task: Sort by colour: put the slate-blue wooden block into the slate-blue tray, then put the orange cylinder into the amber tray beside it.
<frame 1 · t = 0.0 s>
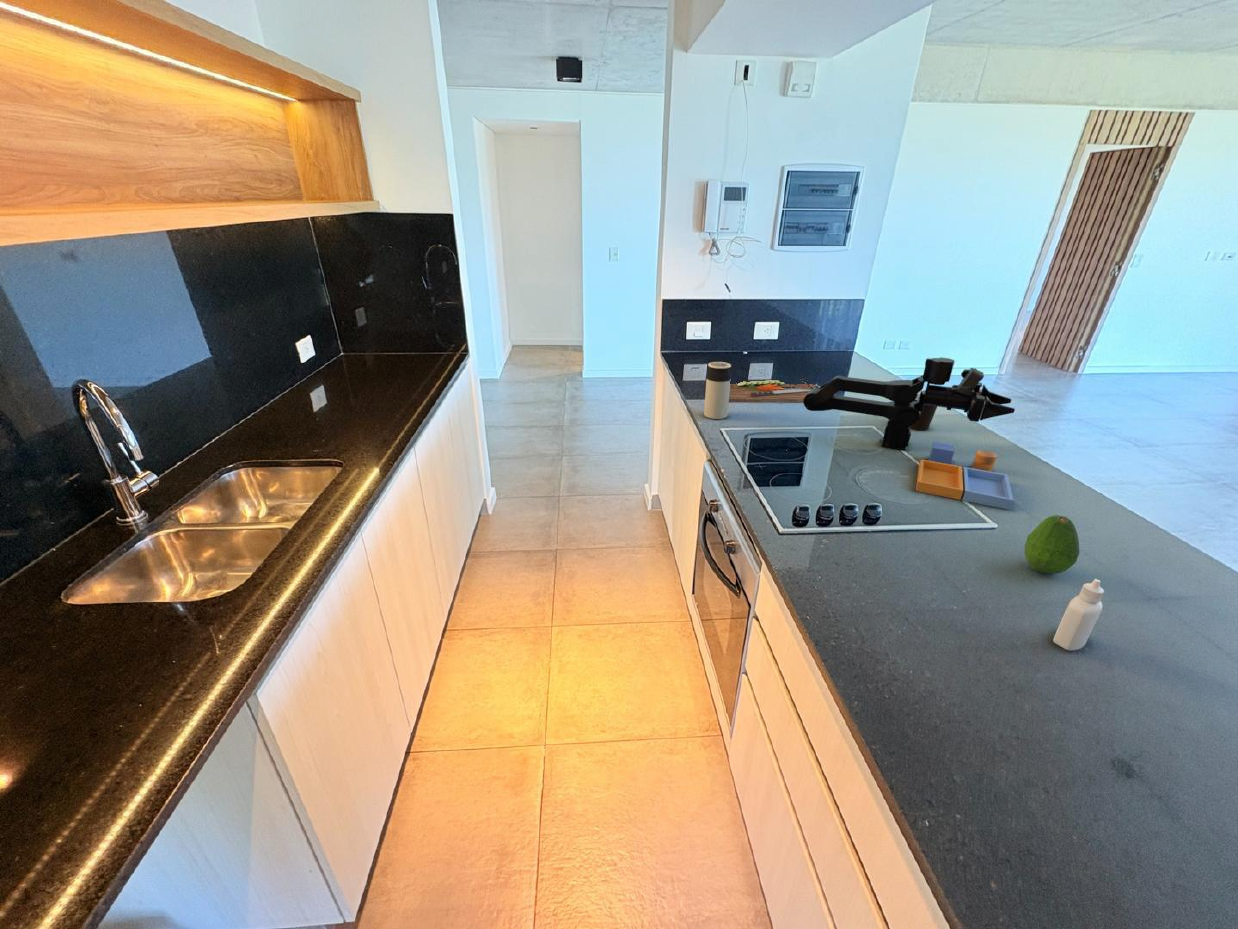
hand: (1012, 405, 140), 17 cm above the worktop, tool horizontal, fingers open, 9 cm apart
eye dropper bottle: (1068, 642, 84), on the worktop
coffee mug: (915, 426, 173), on the worktop
blue block: (938, 463, 146), on the worktop
avocado: (1042, 571, 101), on the worktop
amber tray: (938, 482, 135), on the worktop
orange cylinder: (981, 470, 142), on the worktop
travel mug: (715, 416, 182), on the worktop
chopping board: (765, 392, 208), on the worktop
blue tray: (984, 491, 131), on the worktop
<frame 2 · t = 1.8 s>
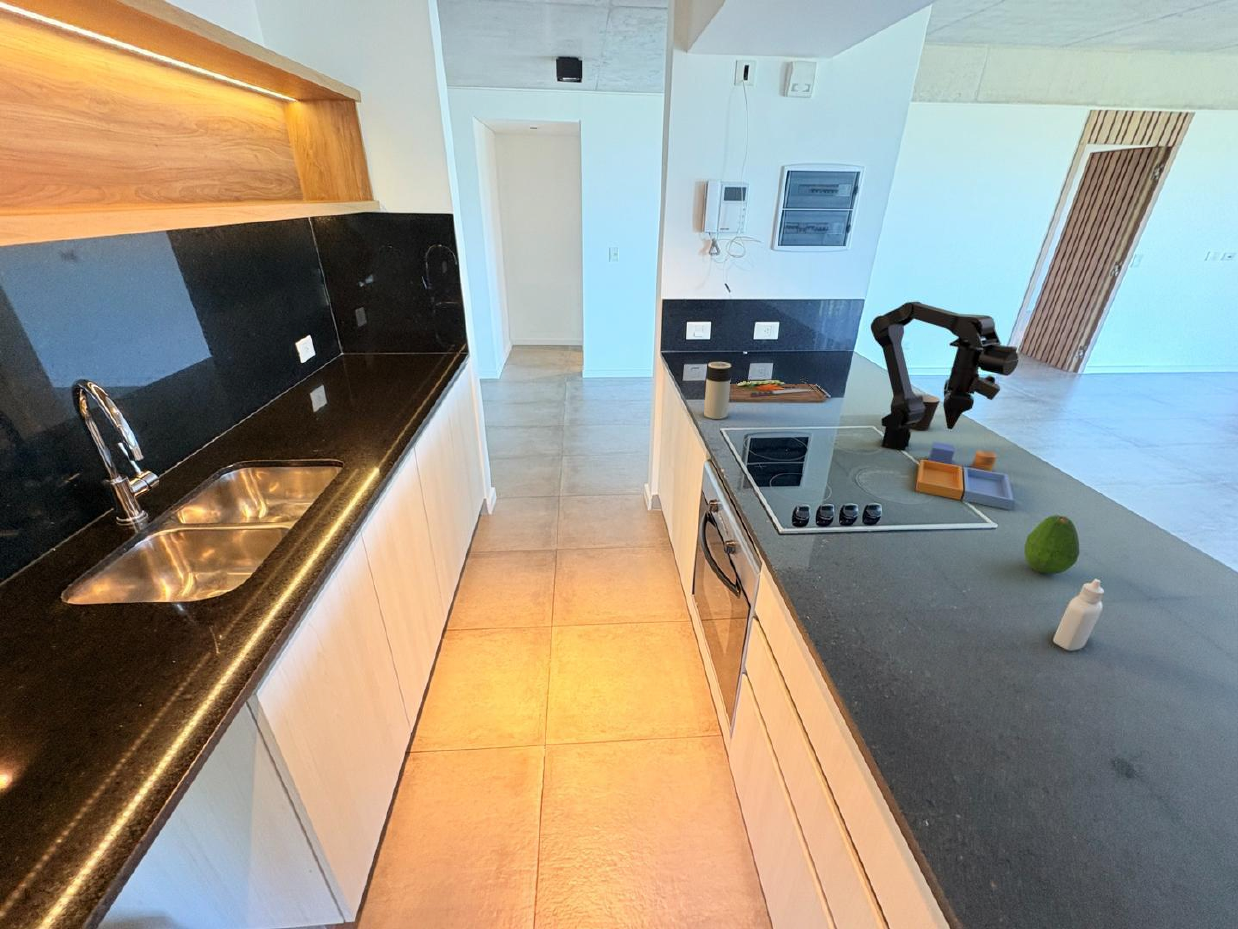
hand: (949, 423, 142), 12 cm above the worktop, tool pointing down, fingers open, 9 cm apart
nothing on the worktop moved.
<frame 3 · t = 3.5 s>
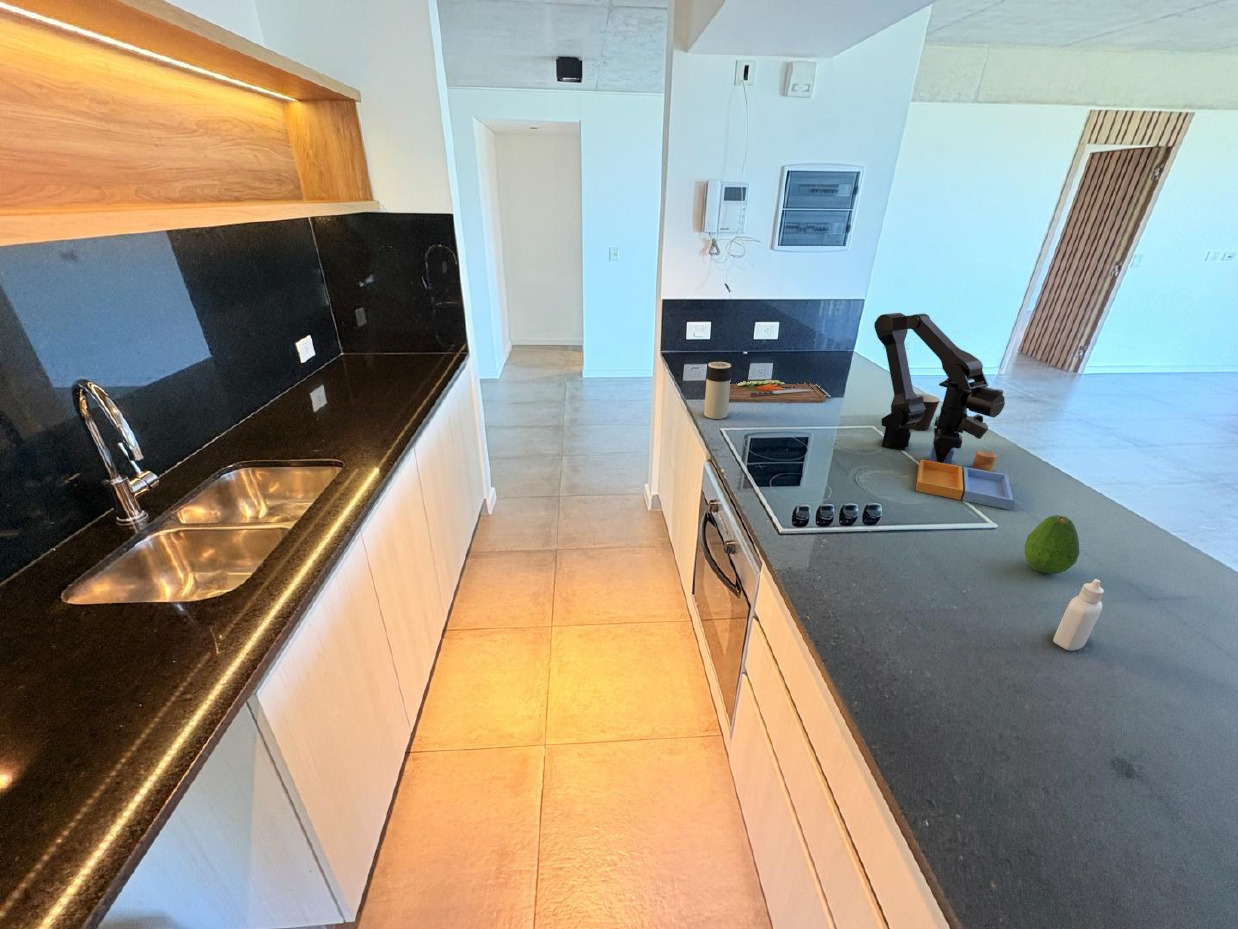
hand: (939, 459, 146), 1 cm above the worktop, tool pointing down, fingers closed on blue block, 5 cm apart
blue block: (938, 463, 146), on the worktop, touching gripper
everything else where it was.
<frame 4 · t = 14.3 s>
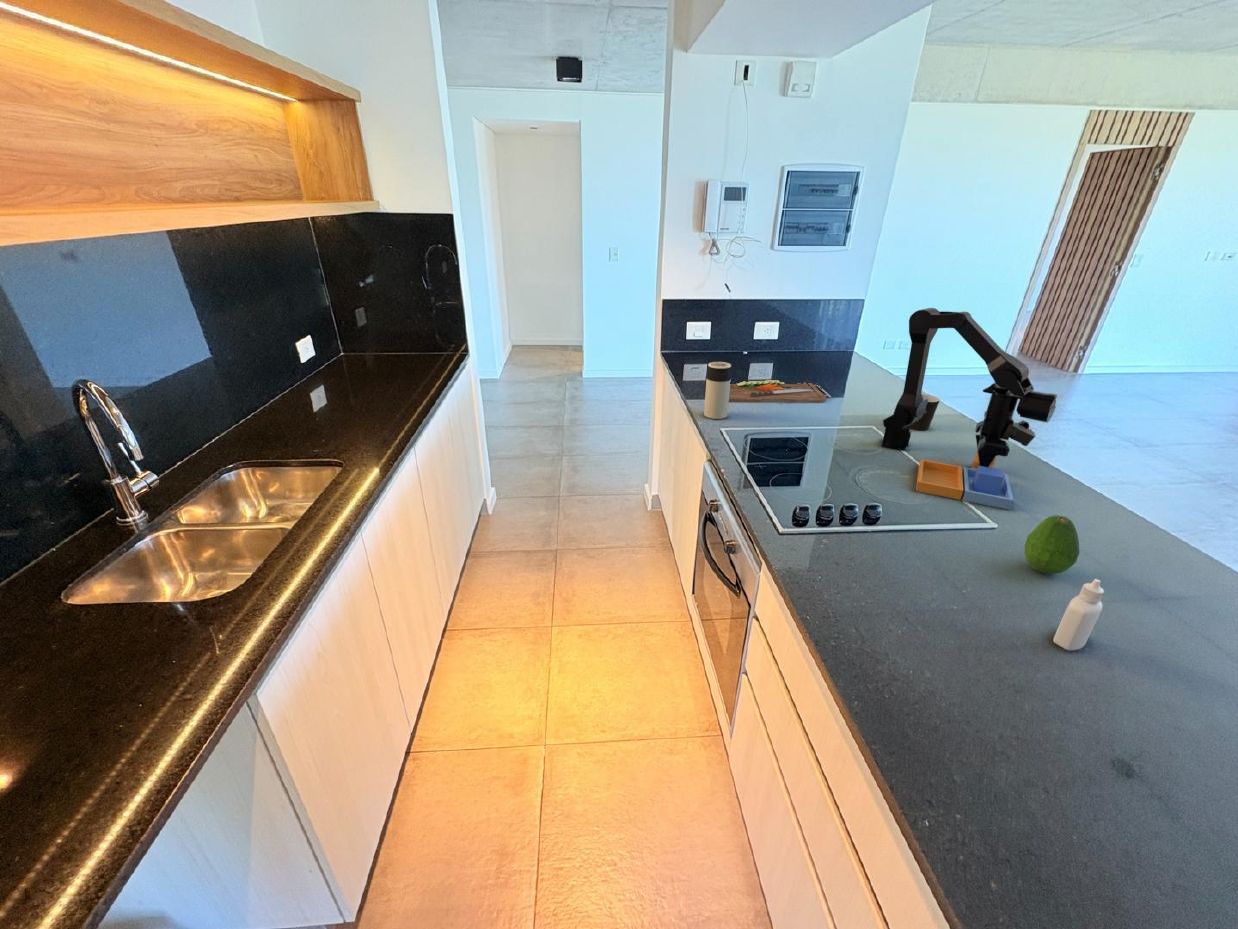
hand: (982, 467, 142), 1 cm above the worktop, tool pointing down, fingers closed on orange cylinder, 4 cm apart
blue block: (984, 489, 131), point 1 cm above the worktop, touching blue tray
orange cylinder: (981, 470, 142), on the worktop, touching gripper
everything else where it was.
when the fingers open (2 cm above the worktop, at t = 20.1 s): orange cylinder stays where it is, resting on amber tray.
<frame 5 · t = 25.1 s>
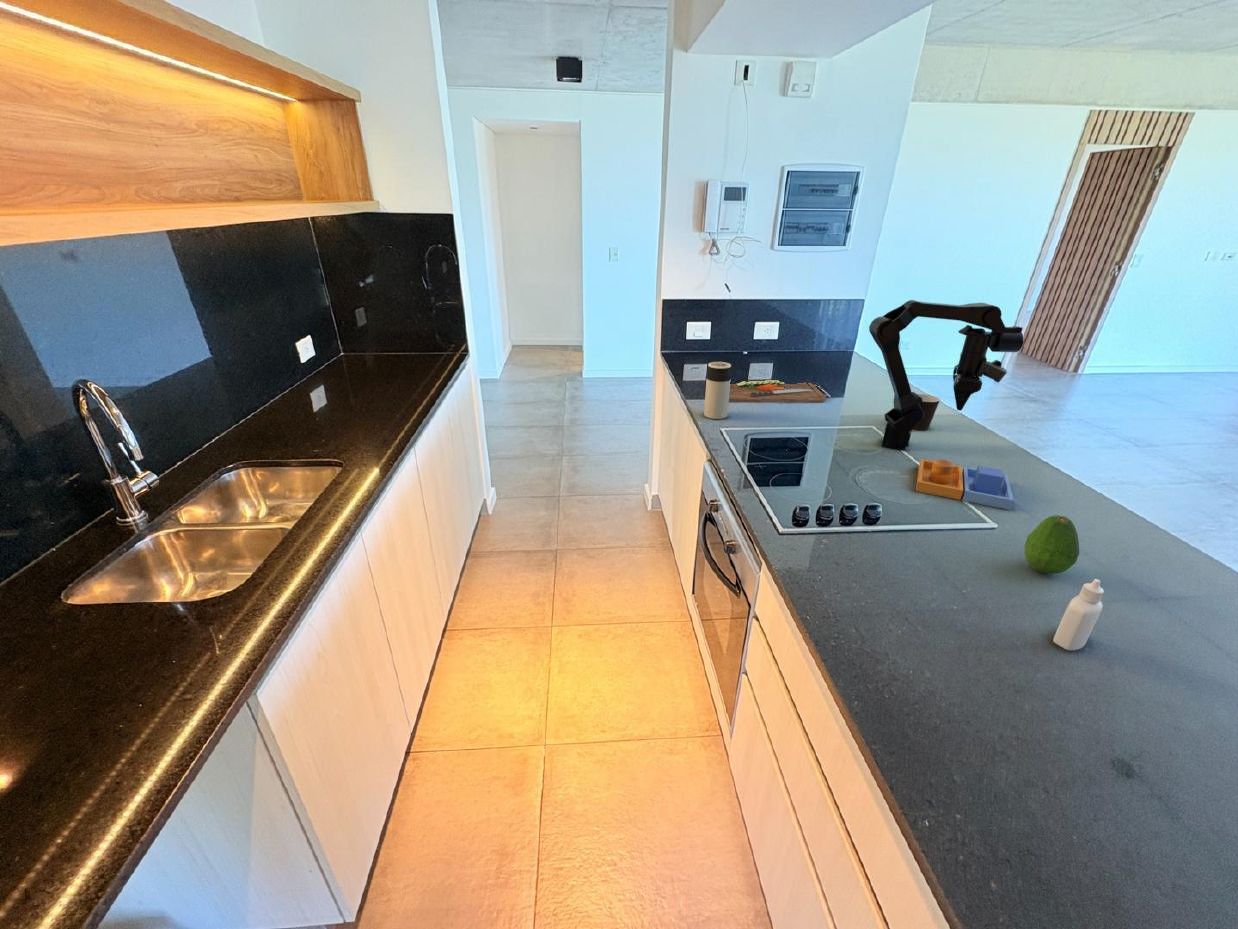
hand: (958, 405, 151), 13 cm above the worktop, tool pointing down, fingers open, 9 cm apart
orange cylinder: (939, 480, 135), point 1 cm above the worktop, touching amber tray
everything else where it was.
at the end: blue block inside the target area in the blue tray (0.1 cm from its centre), point 0.6 cm above the blue tray's base; orange cylinder inside the target area in the amber tray (0.1 cm from its centre), point 0.6 cm above the amber tray's base; orange cylinder tilted 0° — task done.
